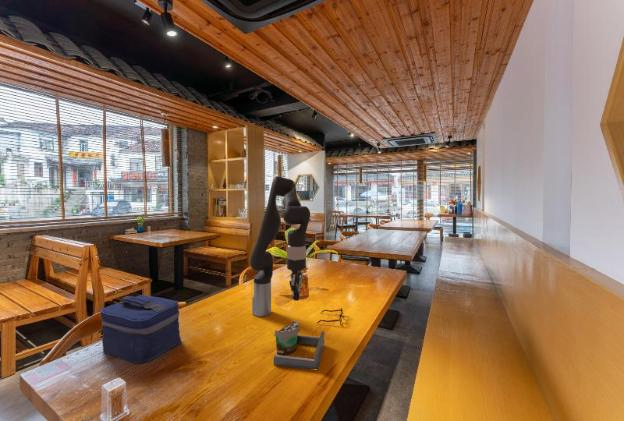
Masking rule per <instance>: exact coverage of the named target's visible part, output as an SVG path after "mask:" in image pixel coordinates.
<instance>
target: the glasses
mask: <svg viewBox="0 0 624 421" xmlns="http://www.w3.org/2000/svg"><path fill="white" fill-rule="evenodd" d="M321 312H322V313H324V312H330V313H331V312H340V314H339V316H338V318H339V319H331V320H329V319H328V320H325V319H319V320H318V321H317V322H316V323H318V324H319V323H321V322H325V323H332V322H339V324H340V326H342V325H341V322H342V323H343V320H342V317H343V318H344V311H343V308H342V307H341V308H340V309H330V310H329V309H323V310H321ZM342 314H343V316H342Z"/></svg>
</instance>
